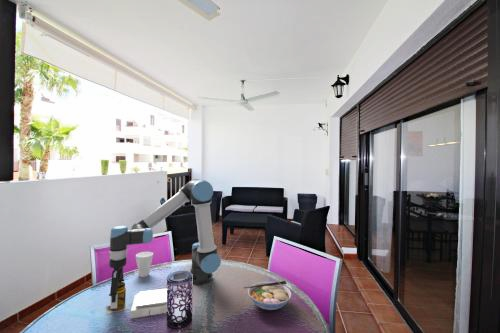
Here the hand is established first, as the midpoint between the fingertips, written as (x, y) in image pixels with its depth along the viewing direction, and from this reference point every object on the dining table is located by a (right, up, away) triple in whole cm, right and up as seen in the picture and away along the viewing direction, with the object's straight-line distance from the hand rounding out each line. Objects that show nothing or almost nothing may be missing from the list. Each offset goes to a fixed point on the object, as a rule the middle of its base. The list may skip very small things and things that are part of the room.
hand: (116, 301), depth 121 cm
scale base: (+17, -4, +2) cm, 18 cm away
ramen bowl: (+77, -6, +6) cm, 77 cm away
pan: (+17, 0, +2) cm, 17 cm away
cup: (-3, -4, +38) cm, 38 cm away
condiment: (0, -4, 0) cm, 4 cm away
